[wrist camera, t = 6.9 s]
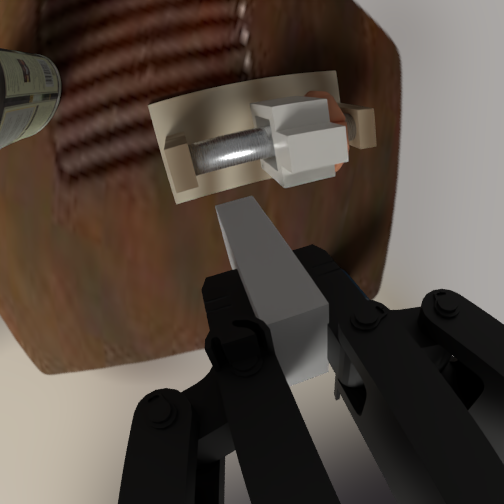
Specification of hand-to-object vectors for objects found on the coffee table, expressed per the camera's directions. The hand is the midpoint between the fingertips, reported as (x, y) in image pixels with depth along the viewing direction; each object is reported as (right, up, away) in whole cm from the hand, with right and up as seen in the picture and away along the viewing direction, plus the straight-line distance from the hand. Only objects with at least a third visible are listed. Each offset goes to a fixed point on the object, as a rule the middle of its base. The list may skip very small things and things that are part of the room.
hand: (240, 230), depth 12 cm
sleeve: (+3, +12, +18) cm, 22 cm away
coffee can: (-25, +17, +11) cm, 32 cm away
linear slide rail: (+1, +13, +21) cm, 24 cm away
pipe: (+2, +10, +16) cm, 19 cm away
